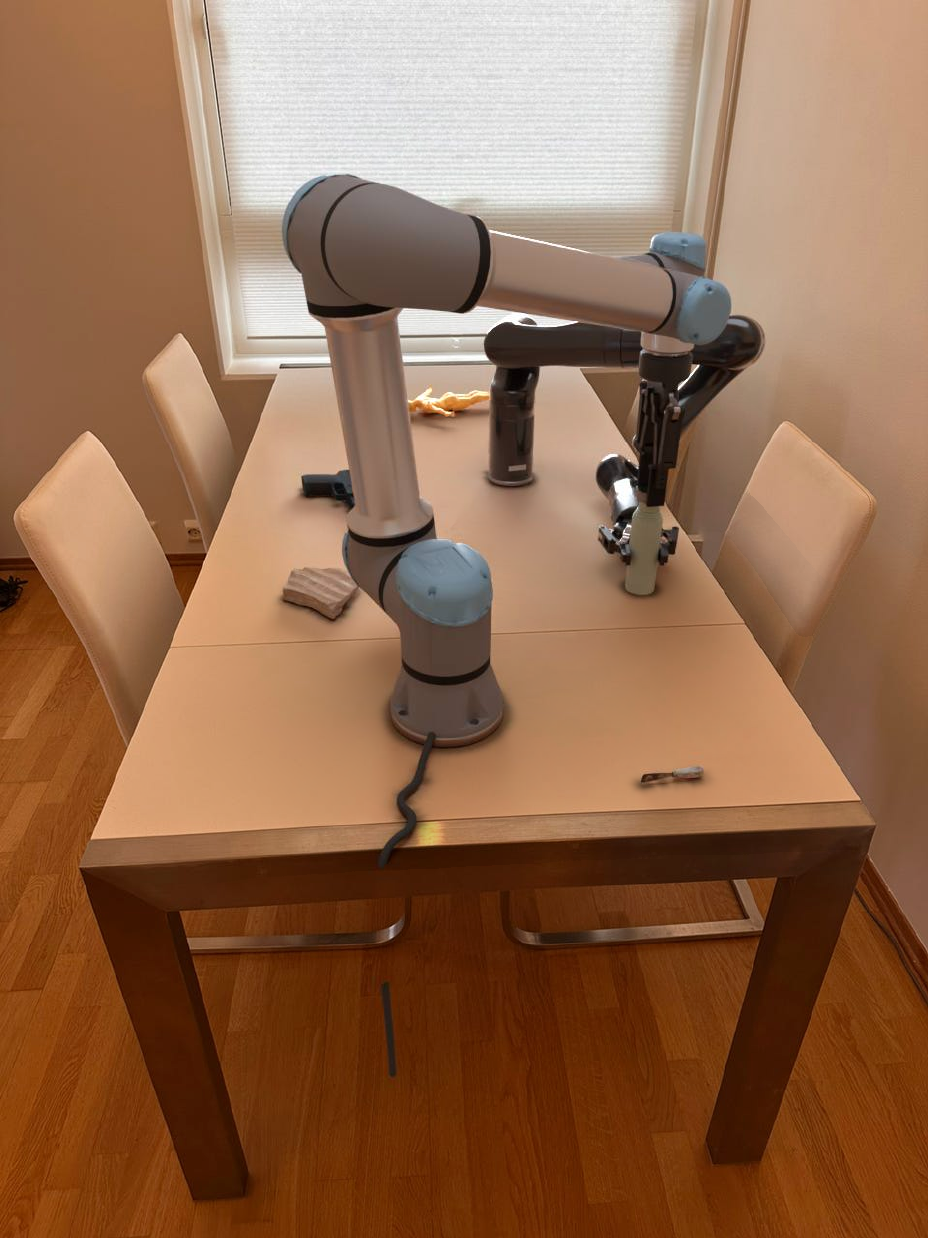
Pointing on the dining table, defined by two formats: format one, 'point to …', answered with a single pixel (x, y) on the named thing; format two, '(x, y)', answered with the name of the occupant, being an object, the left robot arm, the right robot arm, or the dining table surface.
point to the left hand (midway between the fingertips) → (649, 498)
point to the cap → (642, 493)
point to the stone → (320, 589)
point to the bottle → (644, 549)
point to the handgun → (330, 486)
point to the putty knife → (674, 774)
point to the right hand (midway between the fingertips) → (645, 560)
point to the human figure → (446, 402)
